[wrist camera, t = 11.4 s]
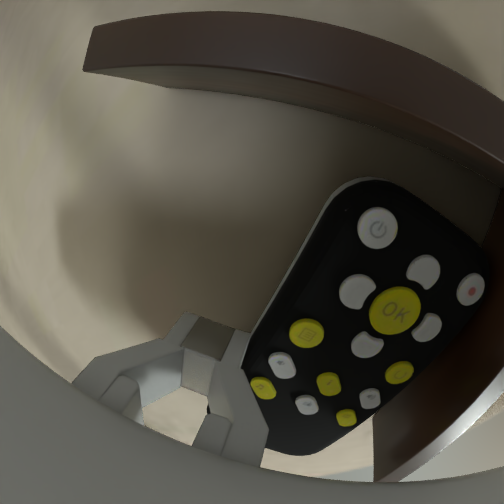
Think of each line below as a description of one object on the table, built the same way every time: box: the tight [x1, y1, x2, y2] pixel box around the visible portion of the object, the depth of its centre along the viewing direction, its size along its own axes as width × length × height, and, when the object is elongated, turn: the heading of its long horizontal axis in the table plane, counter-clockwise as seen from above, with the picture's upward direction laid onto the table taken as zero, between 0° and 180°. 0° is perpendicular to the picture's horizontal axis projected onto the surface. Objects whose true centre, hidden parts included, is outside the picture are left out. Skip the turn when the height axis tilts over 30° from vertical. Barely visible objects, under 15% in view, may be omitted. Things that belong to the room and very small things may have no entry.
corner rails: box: [83, 11, 504, 482], centre depth 8 cm, size 13×13×4 cm
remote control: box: [207, 176, 490, 456], centre depth 9 cm, size 6×13×2 cm, turn 156°
